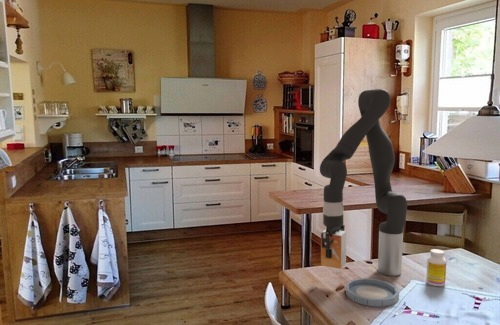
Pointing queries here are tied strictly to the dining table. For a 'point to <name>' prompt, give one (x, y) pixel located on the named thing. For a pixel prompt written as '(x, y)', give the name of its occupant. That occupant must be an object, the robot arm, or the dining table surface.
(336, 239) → the small box
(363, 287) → the grey shallow round dish
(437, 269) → the supplement bottle
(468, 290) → the dining table surface
